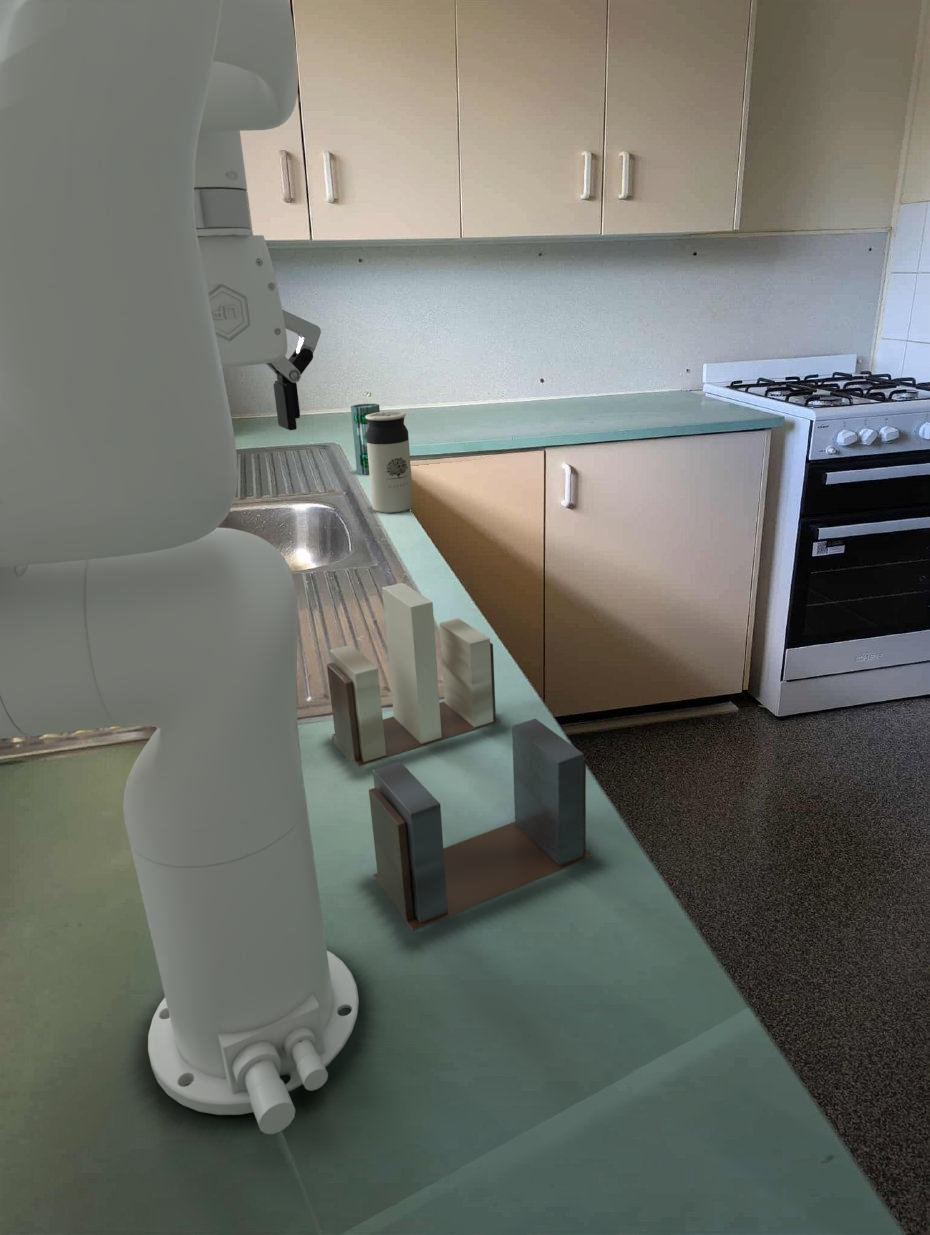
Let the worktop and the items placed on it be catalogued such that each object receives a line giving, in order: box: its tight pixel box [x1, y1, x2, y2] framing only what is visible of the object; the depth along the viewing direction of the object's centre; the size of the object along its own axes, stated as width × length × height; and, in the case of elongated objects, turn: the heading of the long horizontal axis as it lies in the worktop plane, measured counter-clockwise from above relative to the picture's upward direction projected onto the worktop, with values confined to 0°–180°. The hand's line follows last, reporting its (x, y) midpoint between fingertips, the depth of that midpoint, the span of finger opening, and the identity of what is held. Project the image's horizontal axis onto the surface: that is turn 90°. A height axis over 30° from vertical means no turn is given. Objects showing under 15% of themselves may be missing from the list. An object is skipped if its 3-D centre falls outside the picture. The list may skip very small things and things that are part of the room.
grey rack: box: [368, 718, 594, 932], centre depth 64 cm, size 7×15×10 cm, turn 119°
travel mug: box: [366, 411, 414, 514], centre depth 167 cm, size 8×8×18 cm
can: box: [350, 403, 381, 476], centre depth 200 cm, size 6×6×15 cm
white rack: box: [326, 617, 501, 767], centre depth 85 cm, size 7×15×10 cm, turn 119°
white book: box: [381, 582, 442, 744], centre depth 84 cm, size 6×2×14 cm, turn 29°
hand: (234, 435), depth 76 cm, fingers open, 9 cm apart
